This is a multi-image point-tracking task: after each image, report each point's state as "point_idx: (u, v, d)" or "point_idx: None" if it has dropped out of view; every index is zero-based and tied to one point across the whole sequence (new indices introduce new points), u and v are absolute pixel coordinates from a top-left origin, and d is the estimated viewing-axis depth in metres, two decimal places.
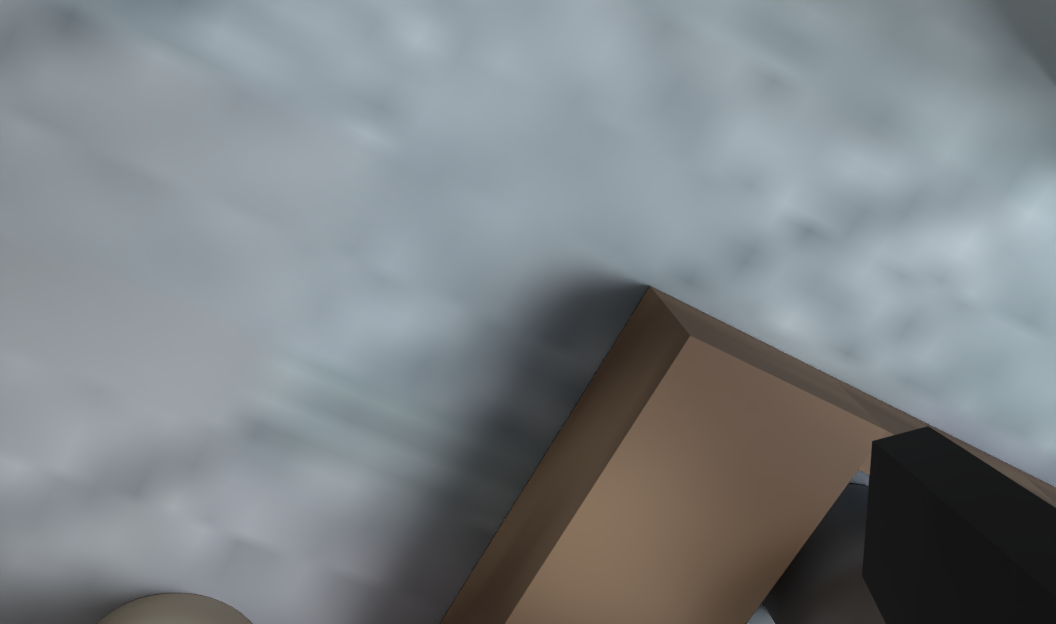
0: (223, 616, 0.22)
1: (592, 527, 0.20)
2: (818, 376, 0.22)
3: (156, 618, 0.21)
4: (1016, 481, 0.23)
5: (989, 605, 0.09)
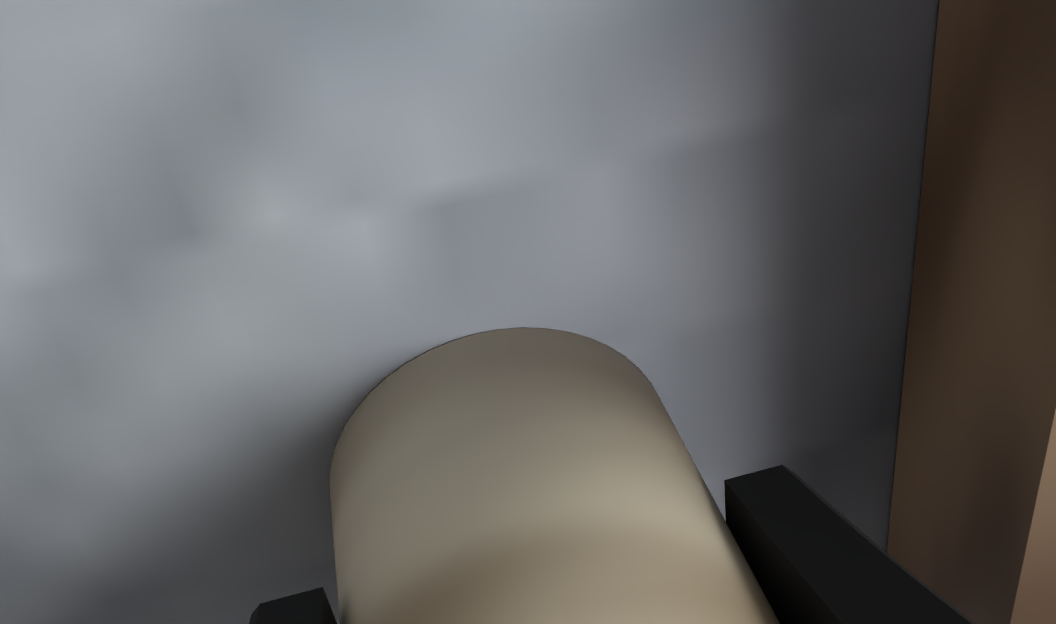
0: (515, 351, 0.10)
1: None
2: None
3: (395, 422, 0.10)
4: None
5: None
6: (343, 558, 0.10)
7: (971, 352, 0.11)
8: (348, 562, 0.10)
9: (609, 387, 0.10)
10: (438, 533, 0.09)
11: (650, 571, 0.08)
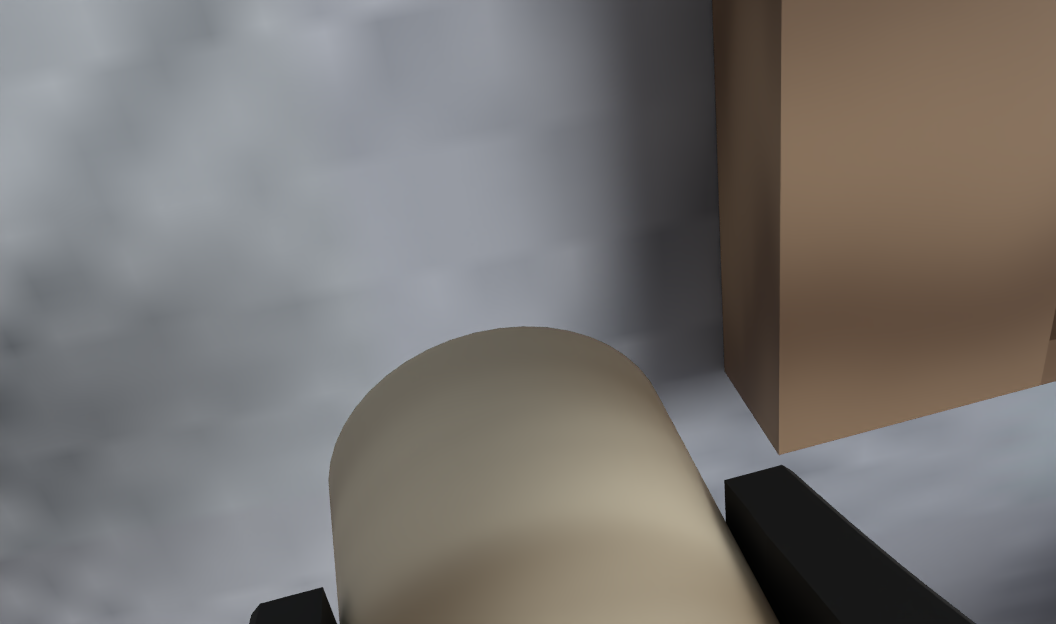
0: (514, 350, 0.10)
1: None
2: None
3: (396, 422, 0.10)
4: None
5: None
6: (343, 556, 0.10)
7: (744, 131, 0.15)
8: (348, 560, 0.10)
9: (609, 386, 0.10)
10: (438, 531, 0.09)
11: (648, 569, 0.08)
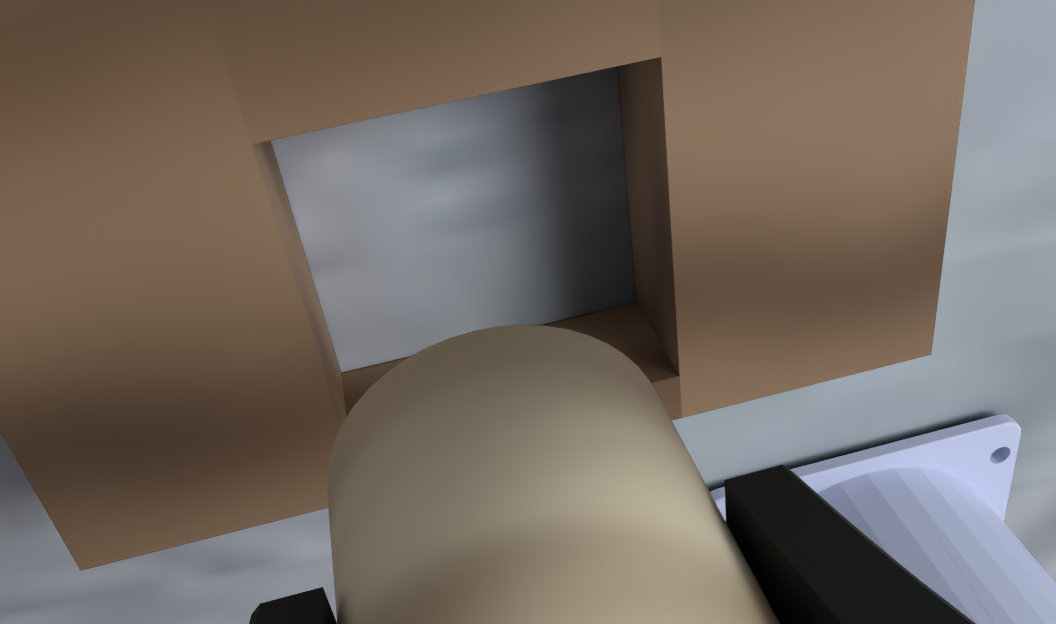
0: (513, 349, 0.10)
1: None
2: None
3: (394, 420, 0.10)
4: None
5: None
6: (340, 556, 0.10)
7: None
8: (345, 560, 0.09)
9: (607, 384, 0.10)
10: (435, 530, 0.09)
11: (648, 569, 0.08)
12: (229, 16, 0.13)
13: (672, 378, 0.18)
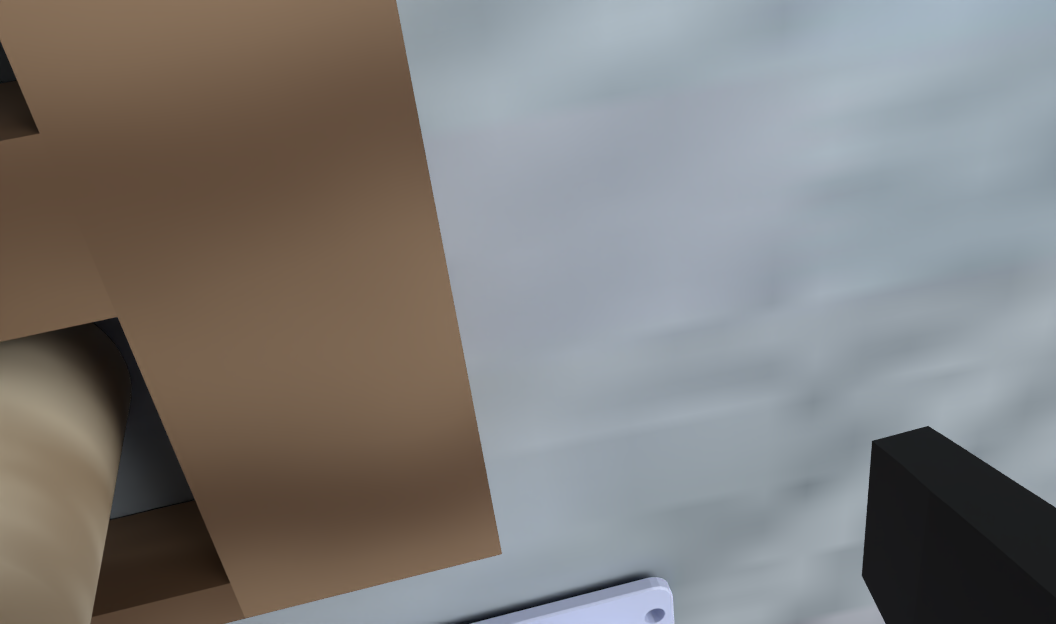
0: None
1: None
2: None
3: None
4: None
5: (989, 605, 0.09)
6: None
7: None
8: None
9: None
10: None
11: None
12: None
13: (224, 584, 0.19)
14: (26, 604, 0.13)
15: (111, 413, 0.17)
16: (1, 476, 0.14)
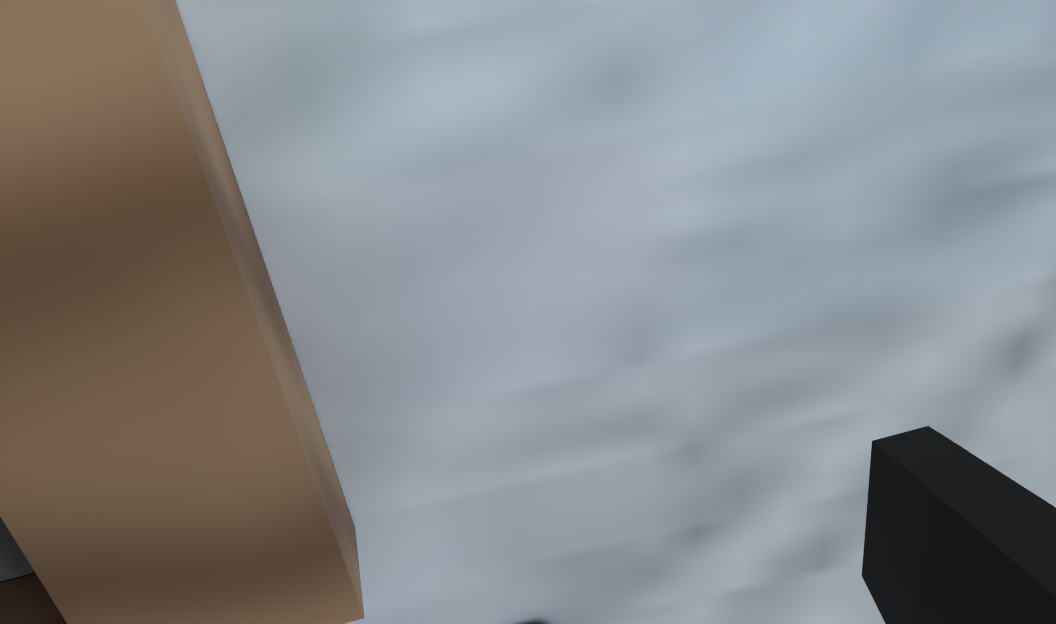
0: None
1: None
2: None
3: None
4: None
5: (989, 604, 0.09)
6: None
7: None
8: None
9: None
10: None
11: None
12: None
13: None
14: None
15: None
16: None
